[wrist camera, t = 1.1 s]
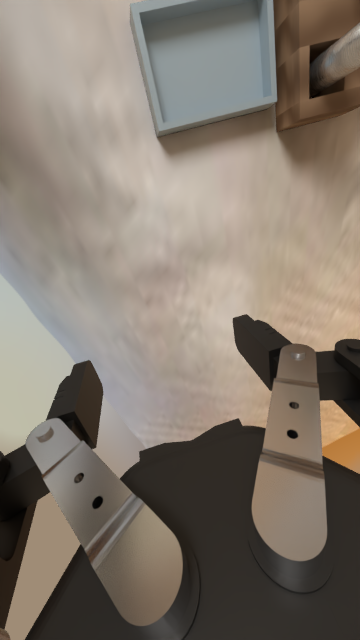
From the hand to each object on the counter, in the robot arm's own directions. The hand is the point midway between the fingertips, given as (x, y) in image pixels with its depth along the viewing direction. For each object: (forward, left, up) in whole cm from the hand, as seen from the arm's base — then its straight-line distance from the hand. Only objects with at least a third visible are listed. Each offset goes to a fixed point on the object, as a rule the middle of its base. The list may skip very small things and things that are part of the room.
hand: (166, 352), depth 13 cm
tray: (-20, +15, -26) cm, 36 cm away
